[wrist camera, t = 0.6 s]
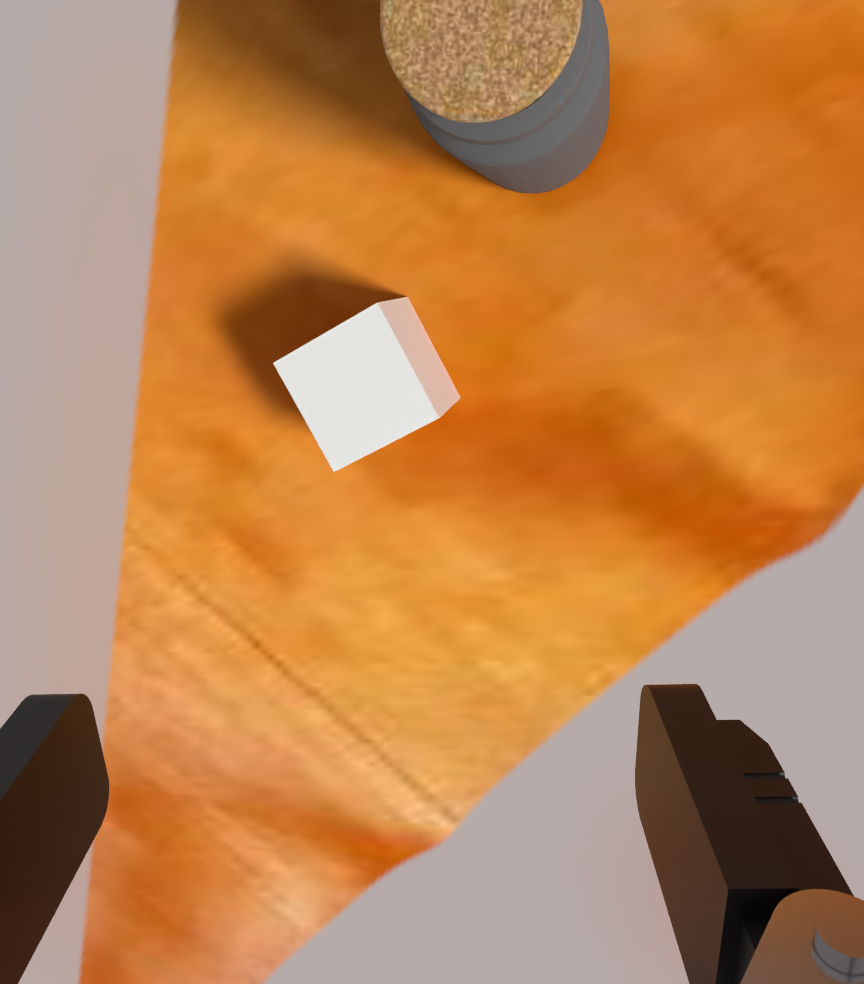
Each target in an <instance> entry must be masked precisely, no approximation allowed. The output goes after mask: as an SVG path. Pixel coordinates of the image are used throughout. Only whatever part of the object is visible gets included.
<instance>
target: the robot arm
mask: <svg viewBox="0 0 864 984" xmlns="http://www.w3.org/2000/svg"><path fill="white" fill-rule="evenodd" d="M784 774H785V773H784V771H783V769H782V767H781V765H780V764H779V762H778V760H777V759H776V757H775V755H774V753H773V751H772V749H771V748H770V746H769V744H768V743H767V742H765V741H764V740H763V739H762V738H761V737H759V736H758V735H757V734H756V733H755V732H753V731H752V730H751V729H750V728H749V727H747V726H746V725H745V724H744V723H743V722H742V721H740V720H716V718H715V716H714V714H713V712H712V710H711V708H710V706H709V704H708V702H707V700H706V698H705V695H704V693H703V691H702V690H701V688H700V686H698V685H697V684H678V685H677V684H676V685H674V684H673V685H644V686H643V688H642V692H641V699H640V712H639V726H638V740H637V753H636V767H635V787H636V798H637V805H638V811H639V815H640V819H641V823H642V826H643V829H644V833H645V836H646V840H647V843H648V846H649V849H650V853H651V856H652V859H653V863H654V866H655V870H656V873H657V876H658V879H659V883H660V886H661V890H662V893H663V896H664V900H665V903H666V906H667V910H668V913H669V917H670V920H671V923H672V927H673V930H674V933H675V936H676V940H677V943H678V947H679V950H680V953H681V957H682V960H683V963H684V967H685V970H686V973H687V976H688V980H689V983H690V984H864V901H863V900H861V899H859V898H856V897H854V896H853V894H852V892H851V890H850V889H849V887H848V885H847V883H846V881H845V880H844V878H843V876H842V875H841V872H840V871H839V869H838V867H837V865H836V864H835V862H834V860H833V858H832V856H831V855H830V853H829V851H828V849H827V848H826V846H825V844H824V842H823V840H822V839H821V837H820V836H819V833H818V832H817V830H816V828H815V826H814V824H813V823H812V821H811V819H810V817H809V816H808V814H807V812H806V810H805V808H804V807H803V805H802V803H799V802H798V796H797V794H796V792H795V791H794V789H793V787H792V785H791V783H790V782H789V780H788V779H785V775H784ZM108 799H109V779H108V774H107V770H106V765H105V761H104V756H103V752H102V747H101V743H100V738H99V734H98V729H97V725H96V721H95V716H94V712H93V708H92V705H91V702H90V700H89V698H88V697H87V696H86V695H84V694H49V695H48V694H47V695H30V696H28V697H26V698H25V699H24V700H23V701H22V702H21V704H20V705H19V706H18V708H17V709H16V710H15V711H14V712H13V714H12V715H11V716H10V718H9V719H8V720H7V721H6V723H5V724H4V725H3V726H2V727H1V729H0V984H18V982H19V980H20V978H21V977H22V975H23V973H24V971H25V969H26V967H27V965H28V963H29V961H30V960H31V958H32V955H33V954H34V952H35V950H36V948H37V946H38V944H39V942H40V941H41V939H42V937H43V935H44V933H45V931H46V929H47V927H48V925H49V923H50V922H51V920H52V918H53V916H54V914H55V912H56V910H57V908H58V906H59V904H60V902H61V901H62V899H63V897H64V895H65V893H66V891H67V889H68V887H69V885H70V883H71V882H72V880H73V878H74V876H75V874H76V872H77V870H78V868H79V867H80V864H81V863H82V861H83V859H84V857H85V855H86V853H87V851H88V849H89V848H90V846H91V844H92V842H93V840H94V838H95V836H96V834H97V832H98V830H99V829H100V827H101V825H102V822H103V820H104V817H105V814H106V810H107V805H108Z"/></svg>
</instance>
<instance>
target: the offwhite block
mask: <svg viewBox="0 0 864 984" xmlns="http://www.w3.org/2000/svg"><path fill="white" fill-rule="evenodd" d="M273 364H274V366H275V368H276V369H277V371H278V373H279V375H280V377H281V378H282V380H283V382H284V384H285V385H286V387H287V389H288V391H289V393H290V394H291V396H292V398H293V400H294V402H295V403H296V405H297V407H298V409H299V410H300V412H301V414H302V416H303V418H304V419H305V421H306V423H307V425H308V426H309V428H310V430H311V432H312V434H313V435H314V437H315V439H316V441H317V443H318V444H319V446H320V448H321V450H322V451H323V453H324V455H325V457H326V459H327V460H328V462H329V464H330V466H331V468H332V469H333V471H334V472H335V471H337V470H339V469H341V468H343V467H345V466H347V465H349V464H351V463H352V462H354V461H356V460H358V459H360V458H362V457H364V456H366V455H368V454H370V453H372V452H374V451H376V450H378V449H380V448H382V447H384V446H386V445H388V444H390V443H391V442H393V441H395V440H397V439H399V438H401V437H403V436H405V435H407V434H409V433H411V432H413V431H415V430H417V429H419V428H421V427H423V426H425V425H427V424H429V423H430V422H432V421H434V420H436V419H438V418H440V417H441V416H442V415H443V414H444V413H445V412H446V411H447V410H448V409H449V408H450V407H451V406H452V405H453V404H455V403H456V402H457V401H458V400H459V399H460V396H459V394H458V392H457V390H456V388H455V386H454V384H453V382H452V381H451V379H450V377H449V375H448V373H447V371H446V369H445V367H444V365H443V363H442V362H441V360H440V358H439V356H438V354H437V352H436V350H435V348H434V346H433V344H432V343H431V341H430V339H429V337H428V335H427V333H426V331H425V329H424V327H423V325H422V324H421V322H420V320H419V318H418V316H417V314H416V312H415V310H414V308H413V306H412V304H411V303H410V301H409V299H408V297H403V298H398V299H393V300H388V301H382V302H377V303H376V304H374V305H372V306H370V307H369V308H367V309H365V310H364V311H362V312H360V313H358V314H357V315H355V316H353V317H351V318H350V319H348V320H346V321H345V322H343V323H341V324H339V325H338V326H336V327H334V328H332V329H331V330H329V331H327V332H326V333H324V334H322V335H320V336H319V337H317V338H315V339H313V340H312V341H310V342H308V343H307V344H305V345H303V346H301V347H300V348H298V349H296V350H294V351H293V352H291V353H289V354H288V355H286V356H284V357H282V358H281V359H279V360H277V361H275V362H274V363H273Z"/></svg>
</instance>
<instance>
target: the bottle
mask: <svg viewBox="0 0 864 984" xmlns="http://www.w3.org/2000/svg"><path fill="white" fill-rule="evenodd" d="M380 30H381V35H382V41H383V46H384V50H385V54H386V57H387V59H388V62H389V64H390V66H391V68H392V70H393V72H394V73H395V75H396V77H397V79H398V80H399V82H400V83H401V85H402V86H403V88H404V90H405V92H406V94H407V96H408V97H409V99H410V102H411V104H412V107H413V109H414V111H415V113H416V115H417V117H418V119H419V121H420V122H421V124H422V126H423V127H424V128H425V129H426V131H427V132H428V133H429V134H430V135H431V137H432V138H433V139H434V140H435V141H436V143H438V144H439V145H440V146H441V147H442V148H443V149H444V150H446V151H447V152H448V153H450V154H451V155H452V156H454V157H455V158H457V159H458V160H460V161H461V162H463V163H464V164H465V165H467V166H468V167H470V168H471V169H473V170H474V171H476V172H477V173H479V174H481V175H482V176H484V177H485V178H487V179H489V180H490V181H492V182H494V183H496V184H497V185H499V186H501V187H503V188H506V189H509V190H512V191H515V192H520V193H542V192H547V191H551V190H554V189H556V188H559V187H561V186H563V185H565V184H567V183H568V182H570V181H571V180H573V179H574V178H576V177H577V176H578V175H579V174H580V173H581V172H582V171H583V170H584V169H586V167H587V166H588V165H589V164H590V162H591V161H592V160H593V158H594V157H595V155H596V153H597V152H598V150H599V148H600V146H601V143H602V141H603V138H604V135H605V133H606V128H607V123H608V114H609V92H610V79H609V41H608V30H607V25H606V21H605V17H604V12H603V9H602V6H601V4H600V2H599V0H381V1H380Z"/></svg>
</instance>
